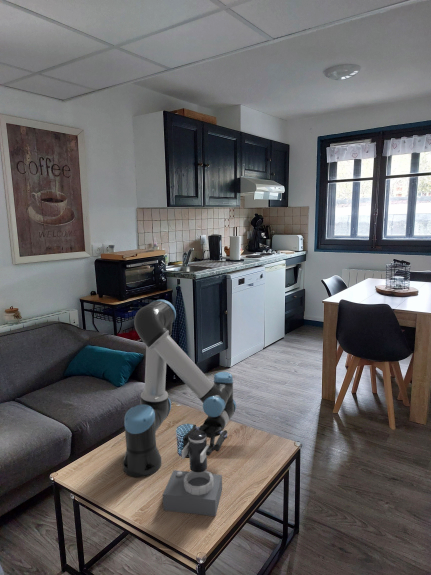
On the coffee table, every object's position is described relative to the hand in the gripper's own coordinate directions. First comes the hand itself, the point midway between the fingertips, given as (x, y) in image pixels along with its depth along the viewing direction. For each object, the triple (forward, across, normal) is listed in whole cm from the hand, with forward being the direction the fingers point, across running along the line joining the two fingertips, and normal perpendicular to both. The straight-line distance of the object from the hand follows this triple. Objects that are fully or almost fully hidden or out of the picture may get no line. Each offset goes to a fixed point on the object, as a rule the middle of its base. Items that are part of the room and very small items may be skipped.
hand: (191, 456), depth 130 cm
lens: (-5, 0, -7) cm, 9 cm away
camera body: (-5, +2, -20) cm, 21 cm away
